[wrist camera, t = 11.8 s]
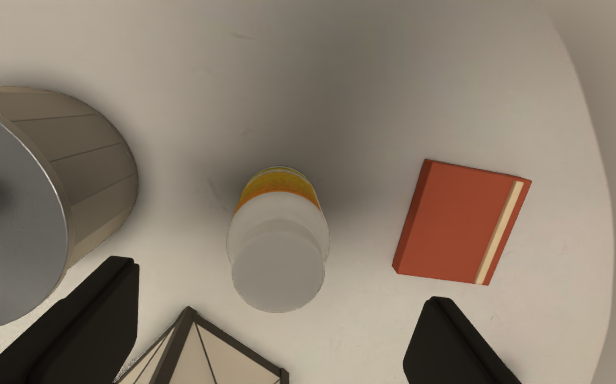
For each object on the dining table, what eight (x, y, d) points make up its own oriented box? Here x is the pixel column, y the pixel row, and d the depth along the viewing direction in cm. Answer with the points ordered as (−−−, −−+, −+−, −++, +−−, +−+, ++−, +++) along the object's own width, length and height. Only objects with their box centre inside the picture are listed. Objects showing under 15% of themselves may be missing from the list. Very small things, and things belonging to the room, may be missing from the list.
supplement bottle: (228, 182, 21) (188, 247, 12) (299, 152, 21) (313, 195, 12) (261, 245, 23) (248, 344, 14) (326, 218, 23) (358, 300, 13)
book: (424, 158, 22) (434, 163, 20) (520, 177, 23) (536, 182, 22) (391, 265, 24) (398, 276, 23) (479, 277, 26) (491, 288, 24)
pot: (-48, 72, 18) (-270, 53, 11) (141, 107, 19) (59, 113, 12) (-27, 233, 21) (-190, 304, 13) (135, 253, 22) (66, 327, 15)
